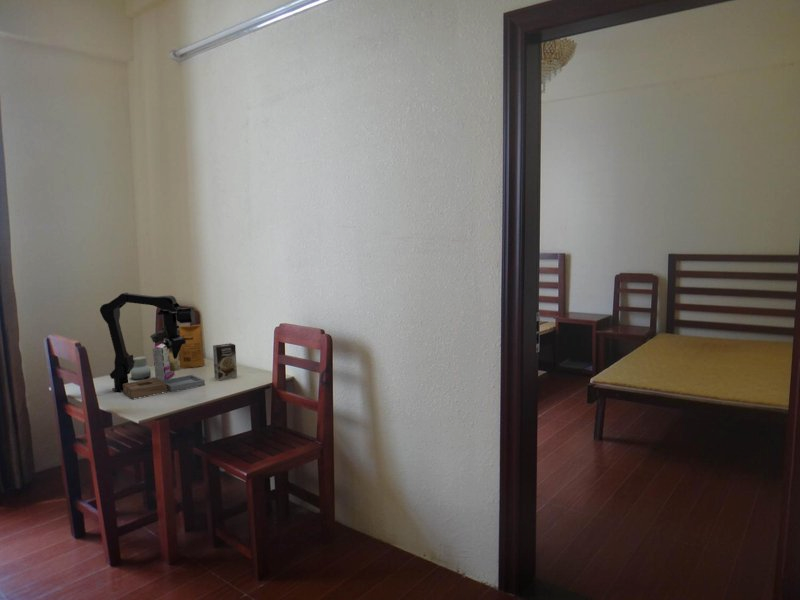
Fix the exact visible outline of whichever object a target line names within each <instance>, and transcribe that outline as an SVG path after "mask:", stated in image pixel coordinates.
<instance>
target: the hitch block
mask: <svg viewBox="0 0 800 600" xmlns="http://www.w3.org/2000/svg"><path fill="white" fill-rule="evenodd" d="M122 392H123V394H124V395H126V396H127V395H128V396H127V397H129V398H130V397H131V399H132V398H133V399H132V400H135V399H134V398H137V399H140V398H139V397H142V398H145V397H144V396H147V397H150V396H149V395H152V396H154V395H153V394H157V393H161V394H163V393H162V392H166V393H168V390H167V386H166V383H164V382H163V381H161V380H159V379H157V378H156V377H152V378H145V379H140V380H137V381H132V382H131V381H130V382H128V383H125V384H123V391H122ZM157 395H158V394H157Z"/></svg>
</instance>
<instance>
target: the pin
mask: <svg viewBox="0 0 800 600" xmlns="http://www.w3.org/2000/svg"><path fill="white" fill-rule="evenodd" d="M168 356H169V367H170V371H174V372H175V371H180V360H179V355H178V356H177V358H176V359H174V357H173V354H172V350H171V348H168Z"/></svg>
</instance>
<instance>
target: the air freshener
mask: <svg viewBox="0 0 800 600" xmlns="http://www.w3.org/2000/svg"><path fill="white" fill-rule="evenodd" d="M133 360H134V362H135V363H134V367H133V369H132V370H131V371H130V374H131V375H130V376H131V378H132V379H133V380H144V379H148V378H149V377H150V376H151V374H152V372H151V366H150V365H148V363H147V357H146V356H137V357H133ZM143 378H144V379H143Z"/></svg>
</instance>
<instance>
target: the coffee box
mask: <svg viewBox="0 0 800 600" xmlns="http://www.w3.org/2000/svg"><path fill="white" fill-rule="evenodd" d="M212 350H213V351H212V352H213V354H212V356H213V369H214V370H213V372H214V379H215V380H217V381H218V380H219V381H220V382H221V381H225V379H226V380H230V378H232V379H235V378H236V377H237V378H238V370H237V369H238V368H237V351H236V344H235V343H232V342H231V343H221V344H214V345H212ZM219 381H218V382H219Z"/></svg>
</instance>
